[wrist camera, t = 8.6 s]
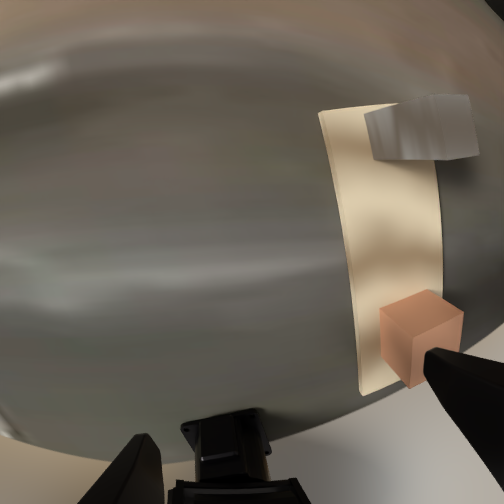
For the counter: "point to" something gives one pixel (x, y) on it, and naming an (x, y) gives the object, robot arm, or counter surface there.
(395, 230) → the strip
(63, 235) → the counter surface
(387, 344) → the block
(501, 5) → the high-heeled shoe
